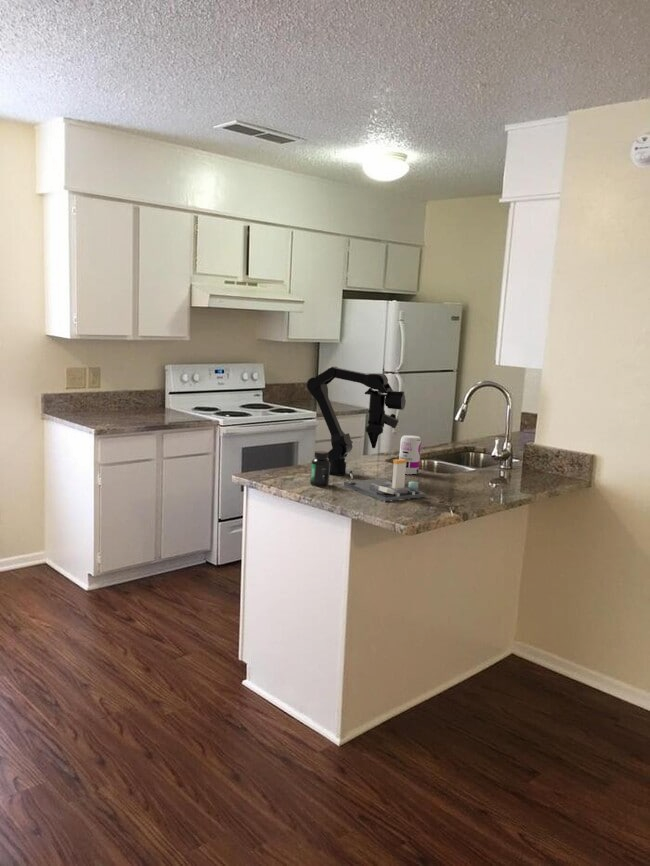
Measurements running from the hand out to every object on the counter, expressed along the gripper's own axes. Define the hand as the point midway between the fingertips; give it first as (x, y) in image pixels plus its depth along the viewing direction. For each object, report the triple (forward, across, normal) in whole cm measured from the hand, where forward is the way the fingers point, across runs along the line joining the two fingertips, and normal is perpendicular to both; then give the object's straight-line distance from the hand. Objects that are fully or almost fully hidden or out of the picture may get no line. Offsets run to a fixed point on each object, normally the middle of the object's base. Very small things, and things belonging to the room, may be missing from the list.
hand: (373, 448), depth 275 cm
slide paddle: (+10, -25, -10) cm, 29 cm away
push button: (+9, -22, -15) cm, 28 cm away
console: (+12, -19, -5) cm, 23 cm away
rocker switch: (+9, -29, -6) cm, 31 cm away
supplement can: (+12, +16, -14) cm, 25 cm away
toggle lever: (+9, -17, +6) cm, 20 cm away
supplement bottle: (+12, -17, +18) cm, 28 cm away
